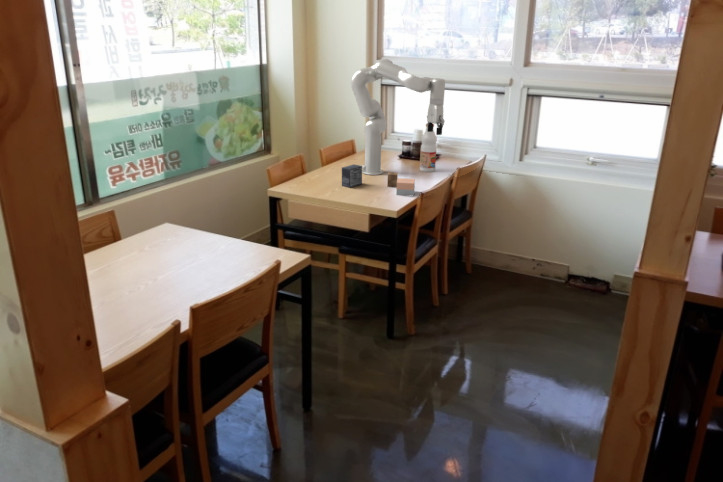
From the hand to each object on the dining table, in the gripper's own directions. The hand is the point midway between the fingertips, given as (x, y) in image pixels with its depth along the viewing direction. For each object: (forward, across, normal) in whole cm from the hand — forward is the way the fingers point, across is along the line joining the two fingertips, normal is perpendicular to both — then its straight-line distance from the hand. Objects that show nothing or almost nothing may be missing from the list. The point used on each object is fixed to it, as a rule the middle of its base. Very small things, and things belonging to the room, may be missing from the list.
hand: (434, 133), depth 331 cm
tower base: (+27, +20, -27) cm, 43 cm away
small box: (+27, -4, -48) cm, 55 cm away
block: (+27, +5, -27) cm, 39 cm away
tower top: (+24, +20, -27) cm, 41 cm away
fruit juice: (+27, -20, +9) cm, 35 cm away
